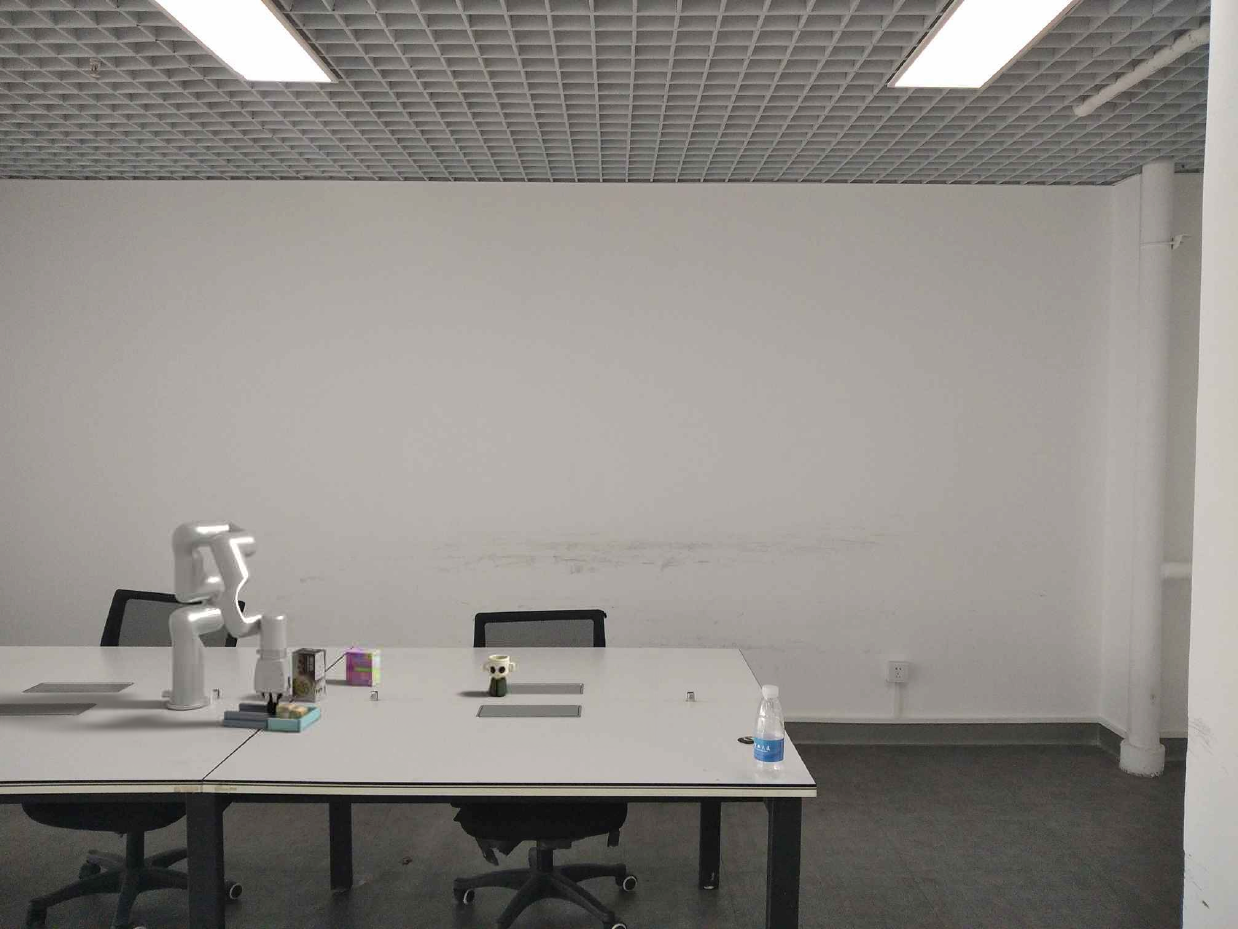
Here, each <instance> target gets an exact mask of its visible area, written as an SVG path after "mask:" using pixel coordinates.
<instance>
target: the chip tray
mask: <svg viewBox="0 0 1238 929" xmlns="http://www.w3.org/2000/svg"><path fill="white" fill-rule="evenodd" d="M295 706H298V707H305V708H308V710H307V715H305V716H304V717H302V718H300V719H299V720H295V719H279V718H268V728H267V731H271V732H273V731H274V732H276V731H277V732H290V733H302V732H303V731H304V730H305V729H307V728H309V727H310V726H312V725H313V724H314V723H316V722H317V721H319V720H320V719H322V718H321V717H322V713H321V712H322V707H321V706H310V705H308V706H307V705H295Z"/></svg>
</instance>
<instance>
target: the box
mask: <svg viewBox="0 0 1238 929" xmlns="http://www.w3.org/2000/svg"><path fill="white" fill-rule="evenodd" d="M380 682H381V650H380V649H371V648H370V649H368V648H357V647H353V648H351V649H348V650H346V651H345V685H351V686H364V687H365V686H366V687H374V686H376V685H378V684H379V683H380Z"/></svg>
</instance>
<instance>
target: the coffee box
mask: <svg viewBox="0 0 1238 929" xmlns="http://www.w3.org/2000/svg"><path fill="white" fill-rule="evenodd" d="M326 651H327V649H320V648H312V647H311V648H309V647H301V648H299V649H296V650H294V651H292V652H291V662H292V663H291V700H292V701H302V702H313V703H317V702H319V701H320V700H323V699H325V698H326V697H327V696H326V686H327V685H326V678H327V676H326V675H327V674H326V669H327V668H326V664H327V662H326V660H327V659H326V657H327V656H326V655H327V654H326V653H327V652H326Z"/></svg>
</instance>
